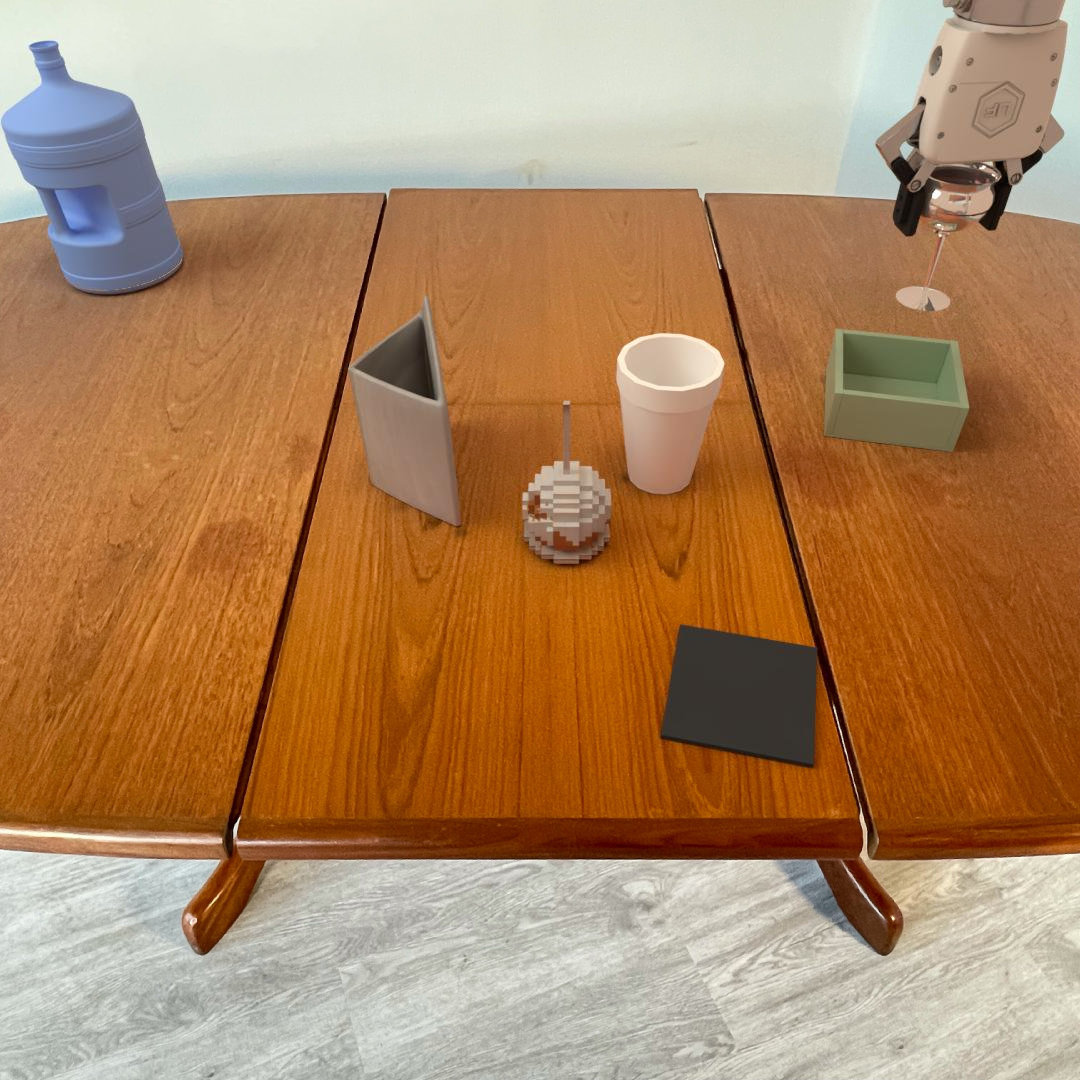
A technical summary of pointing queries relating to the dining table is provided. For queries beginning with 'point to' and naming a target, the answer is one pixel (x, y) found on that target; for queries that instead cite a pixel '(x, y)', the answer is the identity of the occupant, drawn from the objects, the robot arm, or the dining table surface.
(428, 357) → the planter
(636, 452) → the foam cup
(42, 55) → the water jug
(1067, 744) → the dining table surface
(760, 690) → the mat
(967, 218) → the wineglass
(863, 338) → the bin
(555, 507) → the decorative ornament
